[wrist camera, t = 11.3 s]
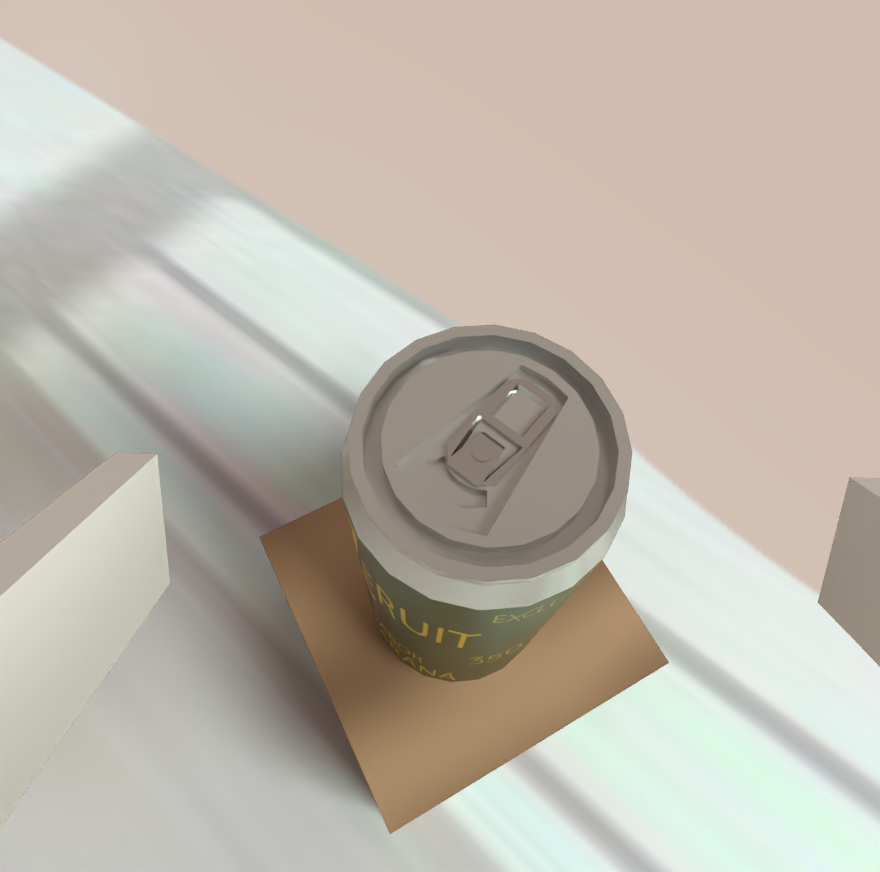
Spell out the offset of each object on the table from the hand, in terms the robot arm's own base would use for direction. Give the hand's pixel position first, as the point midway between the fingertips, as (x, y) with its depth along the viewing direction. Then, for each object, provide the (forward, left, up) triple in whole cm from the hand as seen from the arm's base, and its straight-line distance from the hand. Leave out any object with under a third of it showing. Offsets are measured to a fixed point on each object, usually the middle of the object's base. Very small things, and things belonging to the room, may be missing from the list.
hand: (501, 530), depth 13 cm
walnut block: (-1, 0, -16) cm, 16 cm away
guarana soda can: (-1, 0, -10) cm, 10 cm away
